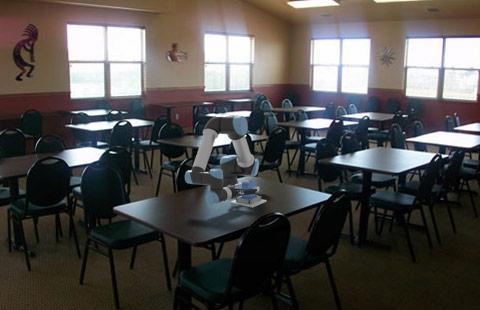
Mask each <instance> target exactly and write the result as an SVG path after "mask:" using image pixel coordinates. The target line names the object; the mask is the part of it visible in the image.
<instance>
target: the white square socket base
mask: <svg viewBox="0 0 480 310" xmlns="http://www.w3.org/2000/svg"><path fill="white" fill-rule="evenodd" d="M264 203H267V199H263V198H262V196H261V195H257V194H255V198H252V199H250V200H249V199H244V198H242V196H241V195H238V196H237V197H235V199H233V200H231V201H230V204H233V205H237V206H243V207H248V208H255V207H257V206H259V205H261V204H264Z"/></svg>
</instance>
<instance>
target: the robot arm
mask: <svg viewBox="0 0 480 310" xmlns="http://www.w3.org/2000/svg"><path fill="white" fill-rule="evenodd" d="M248 131H249V126H248V120H247V118H246V117H245V116H243V115H239V114H238V115H237V114H217V115H215V116H213V117H212V118H211V119H209V120H208V121H207V123H206V124H205V126H204V128H203V130H202V134H203V135H202V138H201V141H200V144H199V147H198V150H197V152H196V153H197V154H196V156H195V159H194V161H193V164H192V167H191V169H190V170H187V171H185V174H184V181H185V183H187V184H191V185H203V186H209V191H207V192H206V193H205V194H206V195H205V200H206V202H207V203H208V205H217V204H219V203H222V202H227V201H230V200H232V199H233V200H234V199H236V196H243V195H250V194H255V195H257V194H256V193H257V192H259V191H260V186H255V188H252V189H242V182H240V183H239V180H238V176H243V177H245V176H246V177H256V176H257V174H258V172H259V167H260V161H259V158H255V157H254V155H253V154H251V151H250V148H249V144H248V141H247V138H246V134H247V133H248ZM219 135H227V137H228V138H229V139H230V140H231V142H232V145H233V148H234V150H235V153H236V154H229V155H224V156H221V157H220V160H219V168H210V169H209V171H206V169H207V165H208V162H209V159H210V156H211V153H212V151H213V148H214V146H215V145H214V144H215V141H216V139H217V138H218V137H219Z"/></svg>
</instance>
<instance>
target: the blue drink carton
mask: <svg viewBox="0 0 480 310" xmlns="http://www.w3.org/2000/svg"><path fill="white" fill-rule="evenodd" d="M241 183H242V189H252V188H255V187H256V181H255V180H248V179H247V180H246V179H245V180H244V181H242V182H241ZM255 195H256V194H250V195H243V196H242V198H244V199H249V200H250V199H252V198H255Z"/></svg>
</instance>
